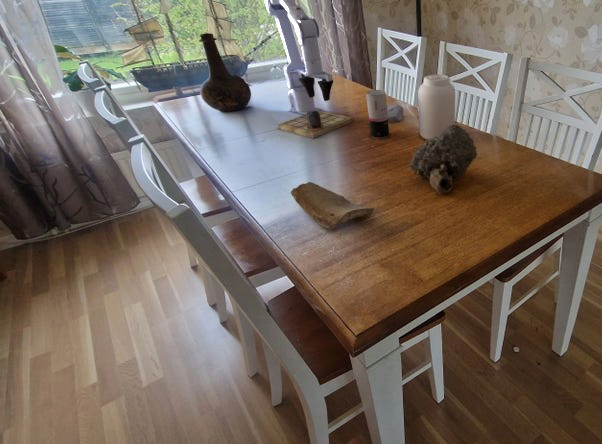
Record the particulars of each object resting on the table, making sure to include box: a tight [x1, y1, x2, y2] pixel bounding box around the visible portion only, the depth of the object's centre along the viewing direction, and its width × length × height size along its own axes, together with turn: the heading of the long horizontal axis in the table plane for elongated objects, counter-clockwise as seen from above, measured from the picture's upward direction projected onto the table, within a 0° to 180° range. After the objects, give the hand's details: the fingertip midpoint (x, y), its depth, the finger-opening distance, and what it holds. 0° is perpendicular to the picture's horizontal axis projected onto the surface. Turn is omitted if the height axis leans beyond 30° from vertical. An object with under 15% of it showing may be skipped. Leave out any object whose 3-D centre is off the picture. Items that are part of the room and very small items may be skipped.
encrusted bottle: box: [408, 124, 478, 195], centre depth 100 cm, size 18×14×15 cm
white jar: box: [417, 73, 456, 141], centre depth 128 cm, size 12×12×20 cm
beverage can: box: [365, 89, 390, 139], centre depth 128 cm, size 7×7×15 cm
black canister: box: [305, 111, 322, 128], centre depth 134 cm, size 5×5×5 cm
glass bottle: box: [198, 32, 252, 112], centre depth 148 cm, size 18×18×28 cm
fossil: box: [290, 181, 375, 230], centre depth 90 cm, size 22×6×10 cm
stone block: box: [387, 104, 404, 123], centre depth 147 cm, size 12×5×10 cm
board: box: [276, 109, 354, 139], centre depth 140 cm, size 18×20×2 cm
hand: (319, 98), depth 137 cm, fingers open, 7 cm apart
